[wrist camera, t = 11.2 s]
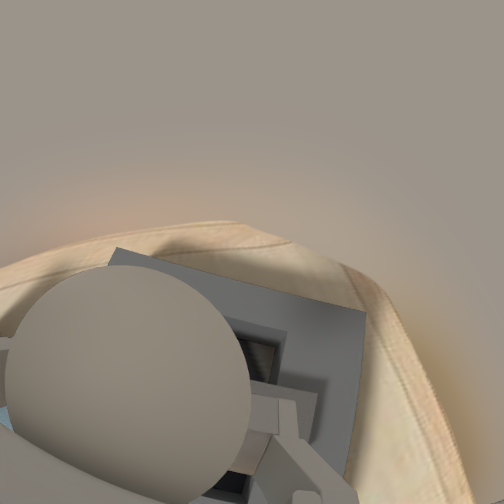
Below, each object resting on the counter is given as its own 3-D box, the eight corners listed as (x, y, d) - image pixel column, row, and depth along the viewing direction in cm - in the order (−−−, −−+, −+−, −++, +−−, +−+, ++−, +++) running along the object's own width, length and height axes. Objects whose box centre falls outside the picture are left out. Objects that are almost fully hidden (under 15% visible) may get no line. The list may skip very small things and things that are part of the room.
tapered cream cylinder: (238, 373, 13) (275, 302, 6) (211, 481, 10) (216, 547, 4) (129, 341, 13) (59, 240, 6) (97, 443, 10) (-18, 440, 4)
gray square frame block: (346, 329, 32) (366, 312, 28) (306, 533, 20) (324, 548, 16) (127, 272, 32) (116, 247, 28) (59, 464, 20) (34, 466, 16)
